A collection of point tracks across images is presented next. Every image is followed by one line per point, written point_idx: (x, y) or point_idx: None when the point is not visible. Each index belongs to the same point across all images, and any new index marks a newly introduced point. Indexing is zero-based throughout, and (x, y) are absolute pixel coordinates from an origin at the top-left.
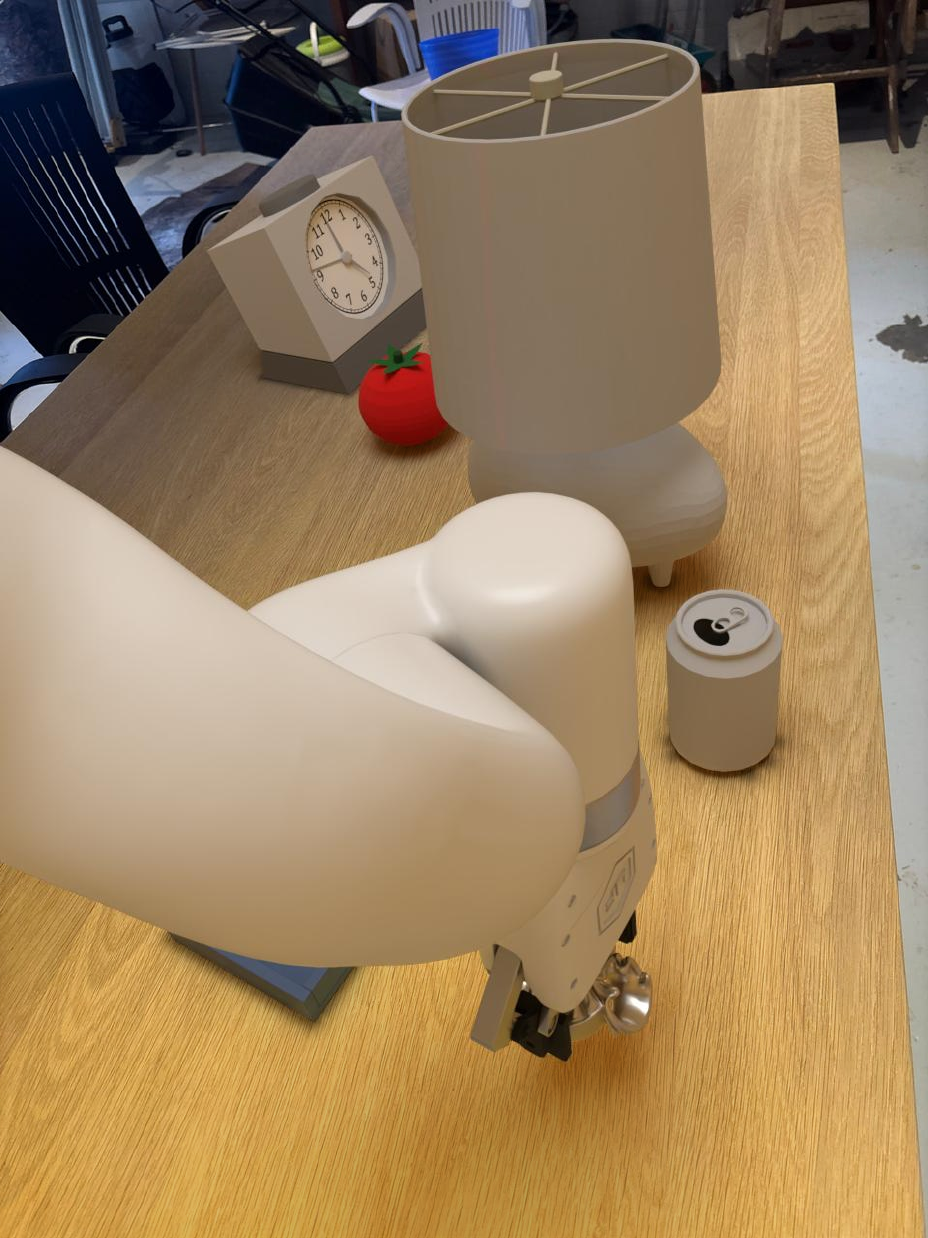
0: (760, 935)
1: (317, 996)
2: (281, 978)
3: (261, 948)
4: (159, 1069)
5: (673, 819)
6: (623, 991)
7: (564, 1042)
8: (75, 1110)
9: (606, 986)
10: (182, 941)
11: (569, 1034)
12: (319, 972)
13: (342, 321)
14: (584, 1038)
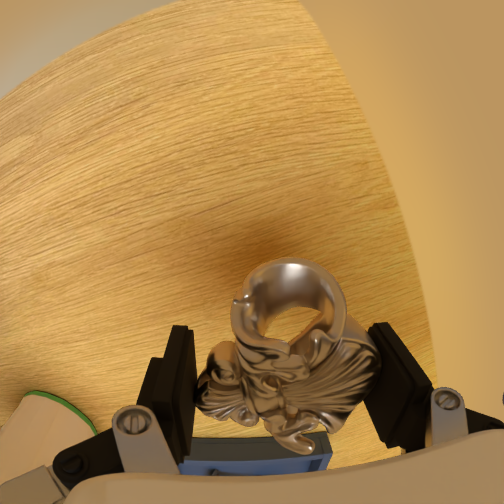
0: (73, 176)
1: (319, 446)
2: (321, 466)
3: None
4: (372, 455)
5: (26, 298)
6: (272, 308)
7: (410, 353)
8: None
9: (318, 353)
10: None
11: (398, 354)
12: (309, 458)
13: None
14: (357, 321)
